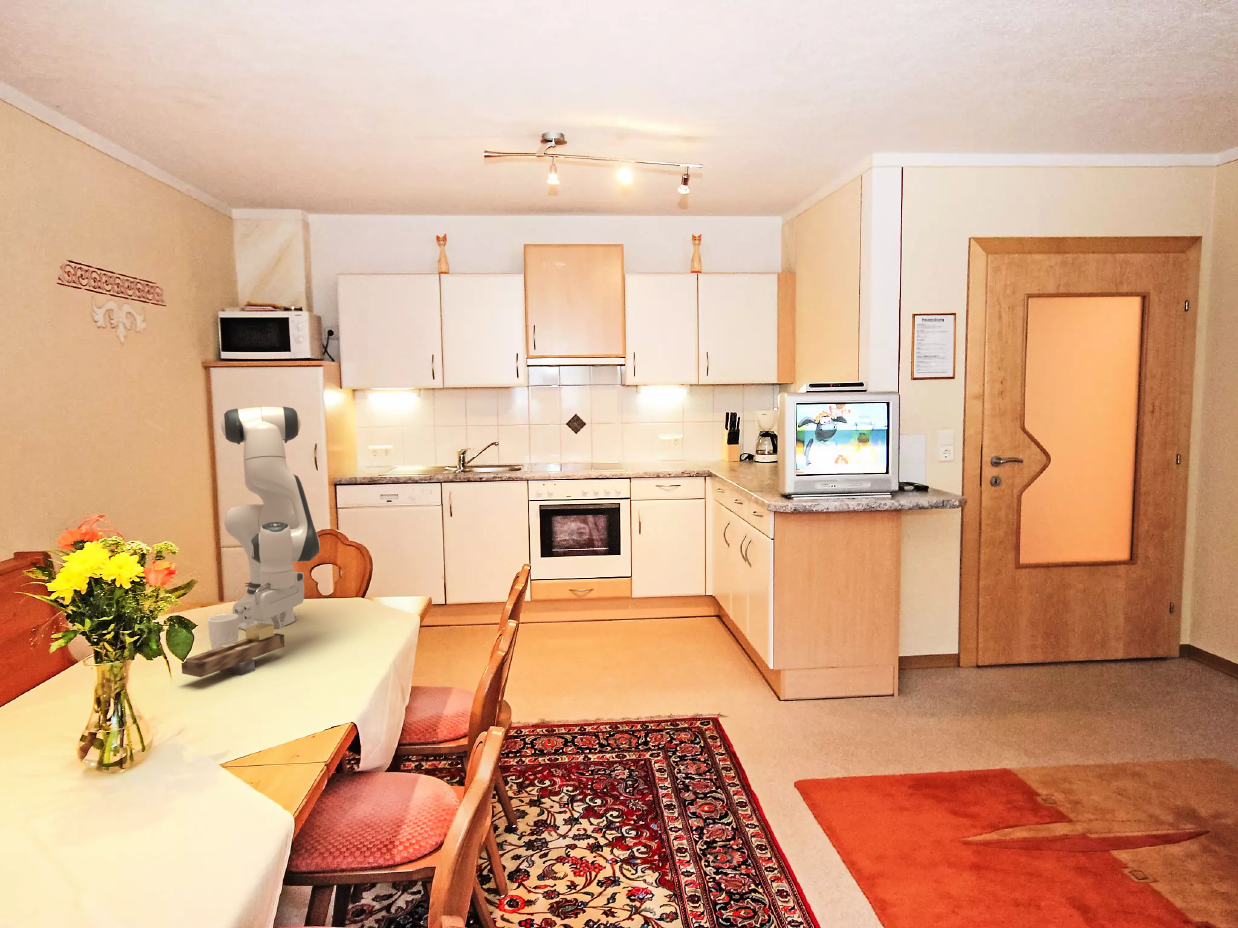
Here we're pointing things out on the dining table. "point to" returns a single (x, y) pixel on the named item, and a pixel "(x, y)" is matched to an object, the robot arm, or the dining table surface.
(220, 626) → the white cup
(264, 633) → the rider
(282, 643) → the beam
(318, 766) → the dining table surface
